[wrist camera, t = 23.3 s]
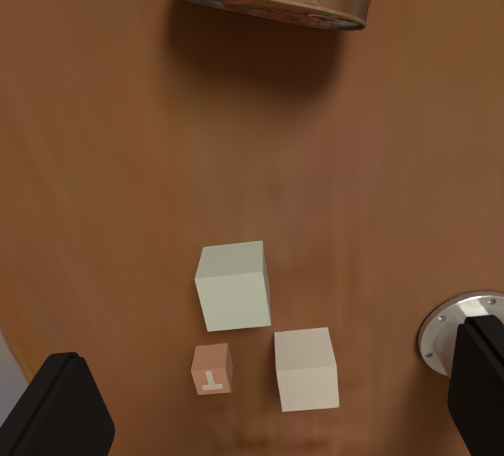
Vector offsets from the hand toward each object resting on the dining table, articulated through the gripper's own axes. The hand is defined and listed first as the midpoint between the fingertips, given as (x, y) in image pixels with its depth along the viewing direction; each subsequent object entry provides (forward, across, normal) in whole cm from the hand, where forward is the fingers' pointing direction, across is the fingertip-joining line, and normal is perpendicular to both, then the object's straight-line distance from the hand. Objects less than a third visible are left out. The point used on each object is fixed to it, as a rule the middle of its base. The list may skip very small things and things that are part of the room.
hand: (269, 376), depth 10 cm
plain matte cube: (+28, +5, +14) cm, 32 cm away
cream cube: (+28, -2, +27) cm, 39 cm away
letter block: (+28, +9, +27) cm, 40 cm away
